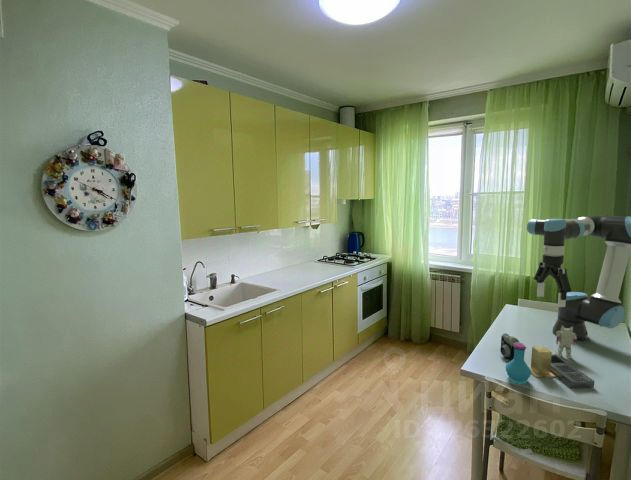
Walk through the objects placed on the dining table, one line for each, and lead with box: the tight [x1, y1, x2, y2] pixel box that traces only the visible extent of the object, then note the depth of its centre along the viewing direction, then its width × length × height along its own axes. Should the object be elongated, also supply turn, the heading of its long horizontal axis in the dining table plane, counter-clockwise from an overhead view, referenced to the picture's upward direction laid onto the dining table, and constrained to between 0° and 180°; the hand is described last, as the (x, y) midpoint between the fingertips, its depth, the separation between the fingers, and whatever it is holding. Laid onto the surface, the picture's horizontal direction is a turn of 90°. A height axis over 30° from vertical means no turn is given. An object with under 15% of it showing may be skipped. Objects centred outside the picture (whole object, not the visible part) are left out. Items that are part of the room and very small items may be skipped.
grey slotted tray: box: [550, 353, 595, 389], centre depth 147 cm, size 9×22×3 cm, turn 0°
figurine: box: [555, 326, 578, 359], centre depth 160 cm, size 8×8×15 cm
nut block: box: [530, 346, 553, 375], centre depth 147 cm, size 5×5×10 cm
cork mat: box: [528, 366, 557, 379], centre depth 148 cm, size 8×8×1 cm
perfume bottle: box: [505, 343, 532, 385], centre depth 142 cm, size 9×9×15 cm
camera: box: [499, 333, 523, 360], centre depth 162 cm, size 15×7×10 cm, turn 1°
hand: (550, 301), depth 154 cm, fingers open, 13 cm apart
